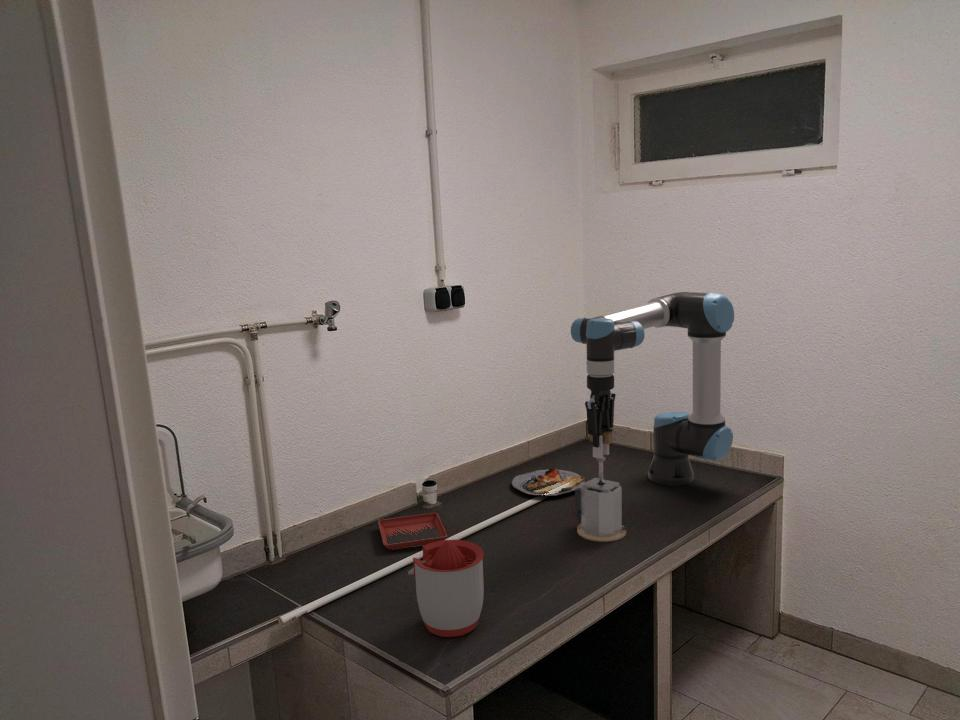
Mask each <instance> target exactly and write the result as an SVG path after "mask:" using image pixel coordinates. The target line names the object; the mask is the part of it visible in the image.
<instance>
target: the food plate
mask: <svg viewBox="0 0 960 720" xmlns="http://www.w3.org/2000/svg"><path fill="white" fill-rule="evenodd" d="M535 477H536V479H537V481H539V482H536V483H534V482H533V483H534V484H531V483H528V484H525V483H526V482H527V481H528V480H531V478H535ZM585 479H586V478H585V476H582V475H580V474H579V473H577V472H574V471H572V470H571V471H570V470H565V469H558V468H557V467H556V468H552V467H551V468H549V469H548V468H547V469H537V470H533V471H532V470H531V471H530V472H529V471H528V472H525V473H522V474H519V475H516V476H515V477H513V479H512V481H511V485H512V487H513V488H515V489H516V490H517V491H520V492H522V493H525V494H528V495H533V496H537V495H538V496H539V495H542V494H543V495H544V494H545V493H546V494H547V493H549V492H547V491H549V490H551V489H554V488H556V487H558V486H561V485H564V484H566V483H570V484H569V487H566V488H562V489H561V491H559V493H555V494H550V495H549V496H560V495H563V494H567V493H571V492H573V491H574V492H575V489H577V488H581V485H582V484H584V483H586V482H587V480H585ZM546 483H550V484H554V483H556V484H554V485H551V486H547V487H545V488H542V489H540V490H539V489H538V490H533V491H532V492H533V493H532V492H531V491H530V490H532V489H536V488H539V487H544V486H546V485H547V484H546ZM524 484H525V485H526V487H527V488H528V489H530V490H527V488H525V487H524V488H525V489H524V488H523V485H524ZM544 491H545V492H544ZM535 493H536V494H535ZM543 495H542V496H541V497H544V496H543ZM547 496H548V495H545V497H547Z"/></svg>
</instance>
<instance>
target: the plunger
mask: <svg viewBox="0 0 960 720" xmlns="http://www.w3.org/2000/svg"><path fill="white" fill-rule="evenodd" d="M601 435H602V436H603V443H604V444H609V445H610V444H612V443H613V431H612V432H607V431H602V430H601ZM589 442H592V443H593V436H592V435H589ZM595 459H596V461H597V462H598V478H599V485H603V479H604V462H606V459H607V458H606V456H605V455H603V458H602V459H600V458H595ZM592 491H596V492H601V491H597V490H592Z"/></svg>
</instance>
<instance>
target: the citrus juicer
mask: <svg viewBox="0 0 960 720" xmlns="http://www.w3.org/2000/svg"><path fill="white" fill-rule="evenodd" d="M484 555H485V553H484V551H483V549H482V547H480V546H479V545H478V544H476V543H474V542H471V541H467V540H461V539H445V540H442V541H436V542H432V543H429V544H427V545H424V546H422V560H421V559H420V558H417V557H413V558H412V564H413V567H412V568H411V569H409V570H408V572H407V575H413V580H415V591H416V592H415V593H416V600H417V606H418V609H419V614H420V615H421V619H422V620H421V621H423V624H424V625H425V627H426V630H427V631H428V632H430V633H431V634H432V635H436V636H438V637H443V638H454V637H463V636H464V635H467V634H470V632H472V631H473V630H474V629H475V628H476V627H477V625H478V623H479V620H480V617H481V614H482V613H481V612H482V608H483V603H484V592H485V591H484V589H485V588H484V587H485V586H484V568H483V567H484V564H483V561H484V560H483V558H484Z"/></svg>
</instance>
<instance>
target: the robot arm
mask: <svg viewBox="0 0 960 720" xmlns="http://www.w3.org/2000/svg"><path fill="white" fill-rule="evenodd" d="M734 320H735V308H734V306H733V304H732V302H731V300H730V299H729V298H728V296H726V295H724V294H721V293H714V292H694V291H693V292H690V291H679V292H673V293H670V294H665V295H662V296H659V297H655V298H652V299H650V300H649V301H647V303H645V304H640V305H637V306H634V307H630V308H626V309H622V310H618V311H614V312H611V313H607V314H602V315H599V316H595V317H591V318H587V317H578V318H576V319H575V320H574V321H573V322H572V323H571V325H570V335H571V338H572V340H573V341H574V342H576V343H580V344H582V345H586V362H585V363H586V373H587V375H586V388H587V389H588V390H590V397H589V401H585V402H584V407H585V409H586V425H587V435H588V436H590V435H592V436H593V442H592V458H595V459H596V458H600V459H602V458H603V456H608V455H609V456H610V444H604V443H603V436H602V435H601V431H607V432H612V433H613V428H614V418H615V417H614V416H615V401H616V400H615V399H616V393H613V392H611V390H613V389H614V388H615V376H614V373H615V351H621V350H626V349H633V348H635V347H639V346H640V345H642V344H643V342H644V339H645V334H646V333H645V330H646V329H650V328H652V327H654V328H658V329H660V328H664V327H671V328H672V327H673V328H681V329H682V328H684V329H687V337H688V338H689V339H690V340H691V342H692V413H691V414H690V413H688V411H687V412H686V411H668V412H663V413H658V414H657V415H655V417H654V419H653V422H654V423H653V427H652V428H653V458H652V460H651V464H650V465H649V468H648V471H647V472H648V473H647V475H648V477H647V478H648V479H649V481H651V482H653V483H655V484H658V485H661V486H662V485H663V486H671V487H672V486H673V487H678V486H686V485H689V484H691V483H692V482H693V481H694V475H695V473H694V469H693V468H692V464H691V461H690V456H692V457H696V458H700V459H703V460H704V461H705V460H706V461H712V462H718V461H721V460H723V459H724V458H725V457H726V456H727V455H728V454H729V451H730V450H731V448H732V446H733V445H732V444H733V441H734V431H732V429H731V428H730V427H728V426H726V418H725V416H723V415H722V414H721V390H722V389H721V385H722V384H721V381H722V380H721V378H722V377H721V376H722V375H721V374H722V371H721V369H722V368H721V366H722V365H721V364H722V357H721V356H722V351H721V350H722V347H721V346H722V340H723V339H724V338H725V337H727V332H728V331H730V330H731V328H732V327H733V324H734V322H735V321H734Z"/></svg>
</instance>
